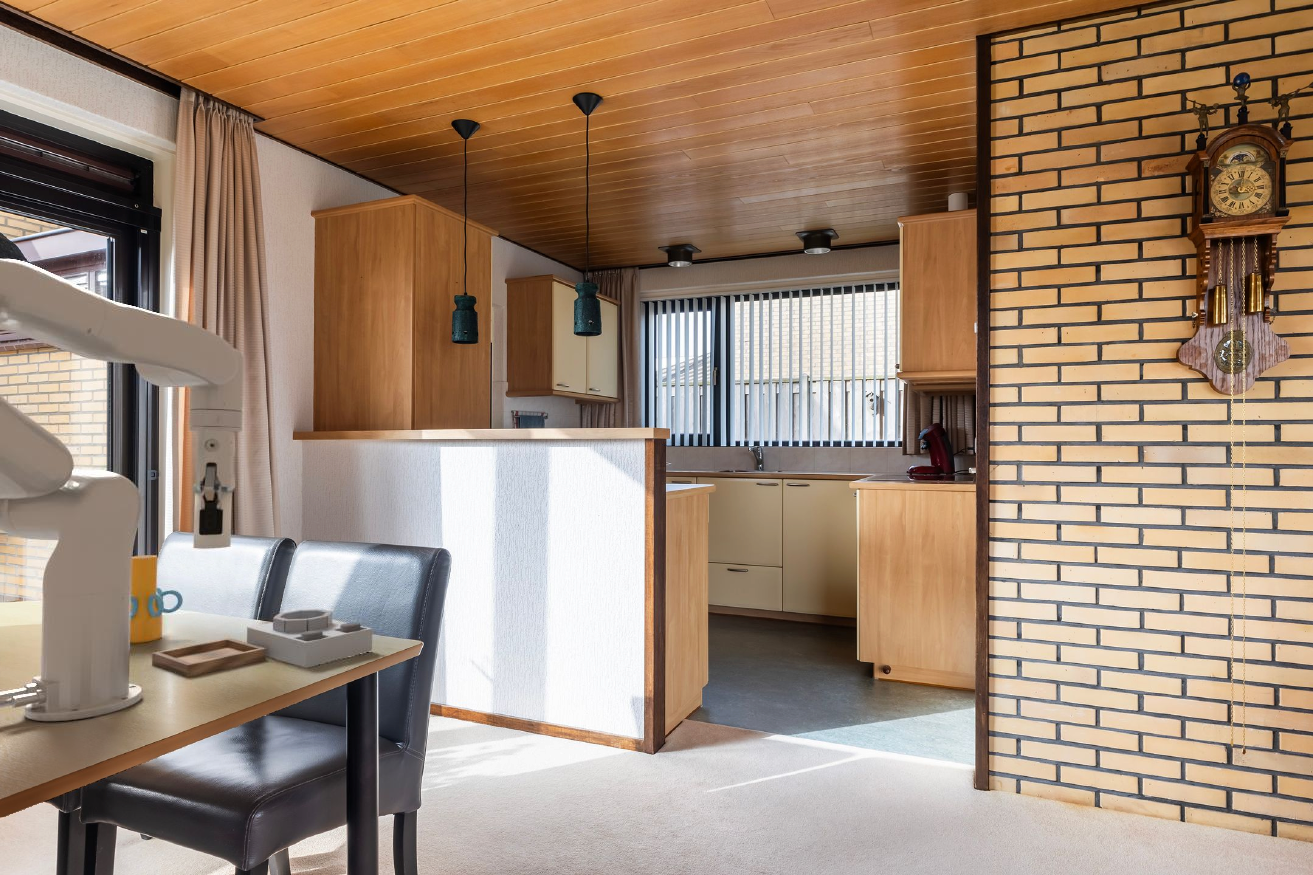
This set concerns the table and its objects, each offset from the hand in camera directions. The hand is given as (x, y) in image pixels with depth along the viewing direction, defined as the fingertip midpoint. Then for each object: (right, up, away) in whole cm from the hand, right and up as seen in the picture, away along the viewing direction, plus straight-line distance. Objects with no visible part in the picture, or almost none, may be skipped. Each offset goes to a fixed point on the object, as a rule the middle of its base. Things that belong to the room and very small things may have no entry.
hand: (212, 531), depth 123 cm
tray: (0, -21, 0) cm, 21 cm away
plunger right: (+20, -20, +6) cm, 29 cm away
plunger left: (+16, -20, 0) cm, 26 cm away
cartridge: (0, -2, 0) cm, 2 cm away
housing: (+14, -21, +6) cm, 26 cm away
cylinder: (-21, -22, +14) cm, 33 cm away
